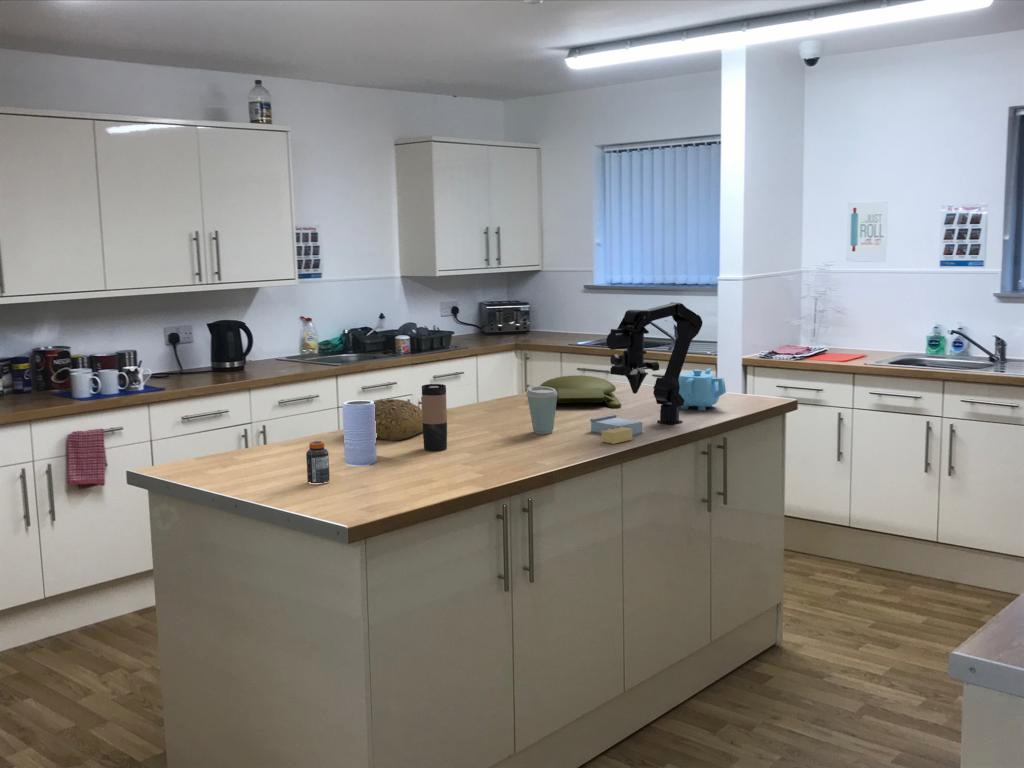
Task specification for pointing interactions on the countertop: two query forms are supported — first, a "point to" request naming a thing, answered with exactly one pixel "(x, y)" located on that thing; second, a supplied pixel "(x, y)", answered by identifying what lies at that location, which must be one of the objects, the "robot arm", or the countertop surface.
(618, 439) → the stub
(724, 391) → the teapot
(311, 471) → the pill bottle
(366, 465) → the countertop surface
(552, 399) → the disposable coffee cup
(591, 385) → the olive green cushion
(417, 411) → the bread
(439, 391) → the travel mug
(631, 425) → the ticket
